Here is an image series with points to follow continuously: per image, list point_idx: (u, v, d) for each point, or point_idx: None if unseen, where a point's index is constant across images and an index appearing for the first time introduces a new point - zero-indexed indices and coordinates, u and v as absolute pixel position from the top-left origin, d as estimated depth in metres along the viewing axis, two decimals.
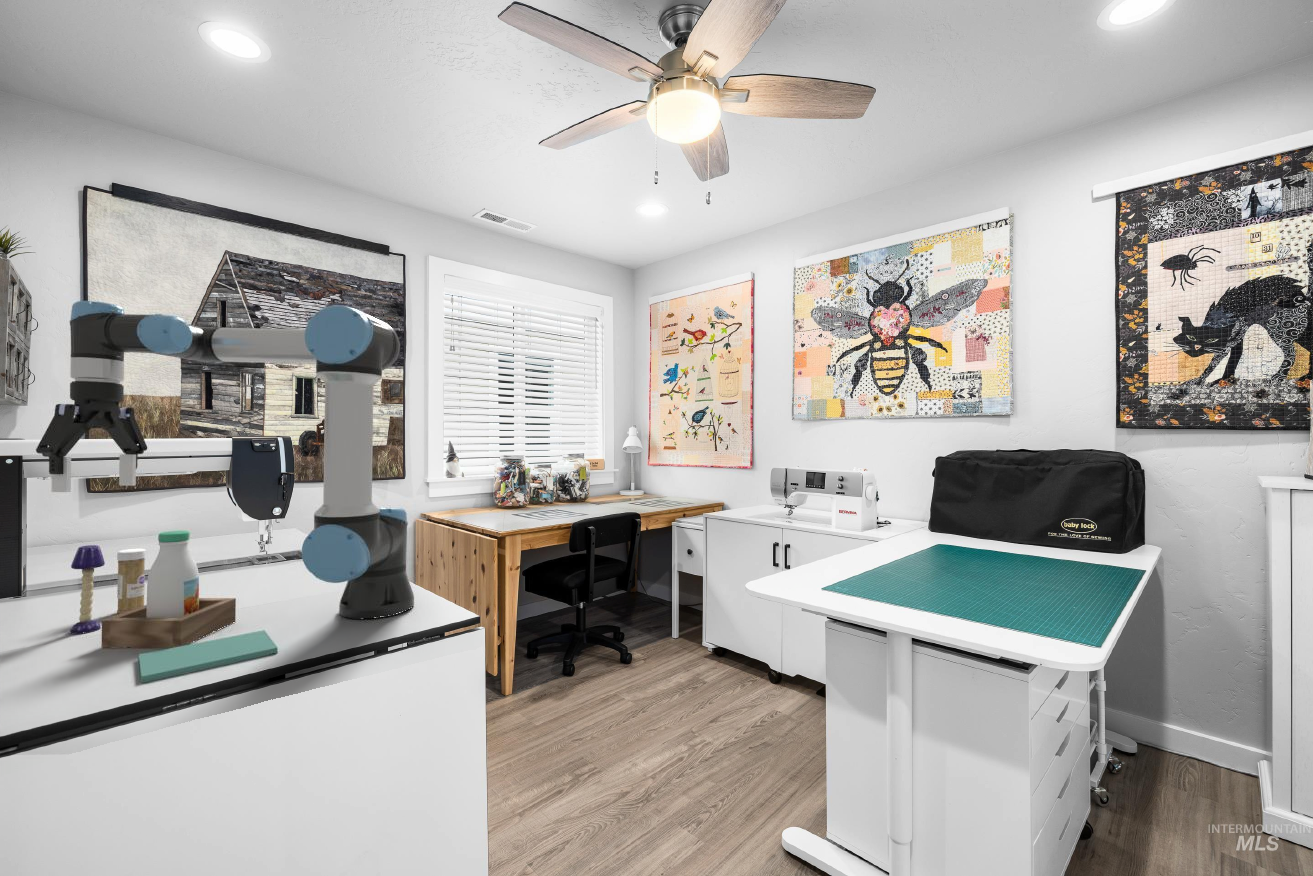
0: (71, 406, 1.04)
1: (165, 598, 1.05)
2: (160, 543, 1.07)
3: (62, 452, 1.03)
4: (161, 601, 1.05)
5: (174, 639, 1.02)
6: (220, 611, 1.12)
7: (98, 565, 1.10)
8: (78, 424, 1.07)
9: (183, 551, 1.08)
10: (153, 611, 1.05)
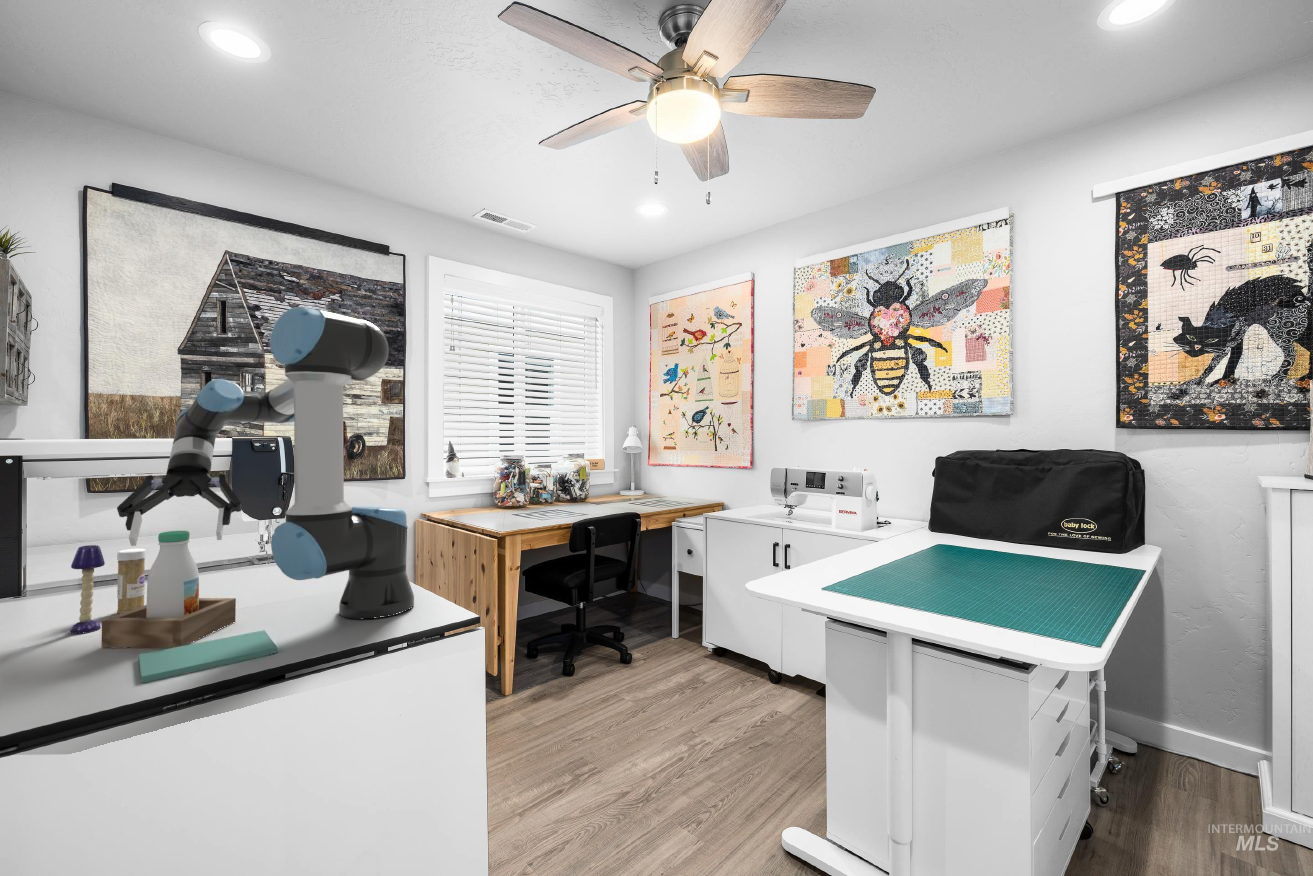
0: (148, 476, 1.20)
1: (165, 598, 1.05)
2: (160, 543, 1.07)
3: (130, 508, 1.14)
4: (161, 601, 1.05)
5: (174, 639, 1.02)
6: (220, 611, 1.12)
7: (98, 565, 1.10)
8: None
9: (183, 551, 1.08)
10: (153, 611, 1.05)
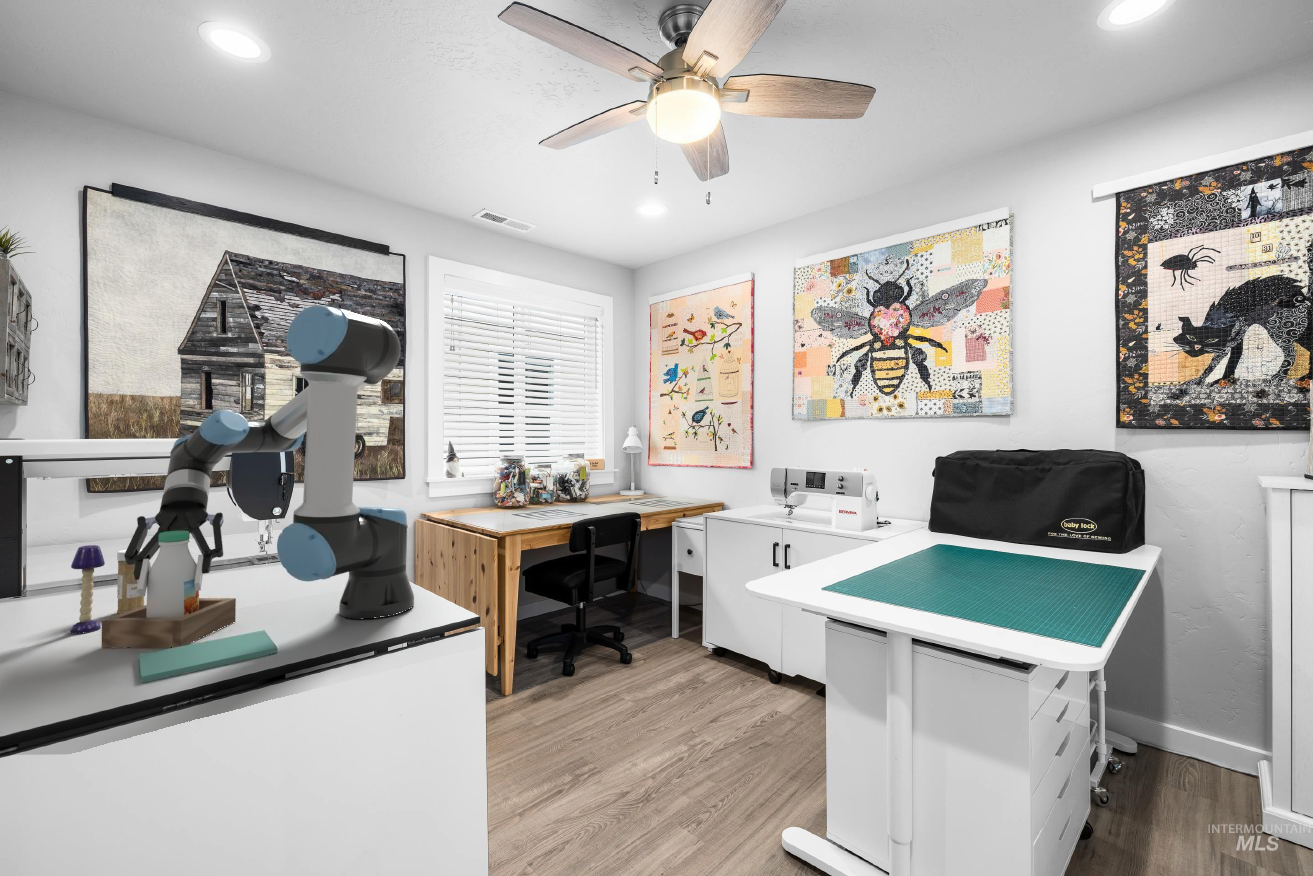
0: (139, 518, 1.11)
1: (165, 597, 1.05)
2: (160, 543, 1.07)
3: (138, 556, 1.07)
4: (161, 601, 1.05)
5: (174, 639, 1.02)
6: (220, 611, 1.12)
7: (98, 565, 1.10)
8: None
9: (183, 551, 1.08)
10: (153, 611, 1.05)
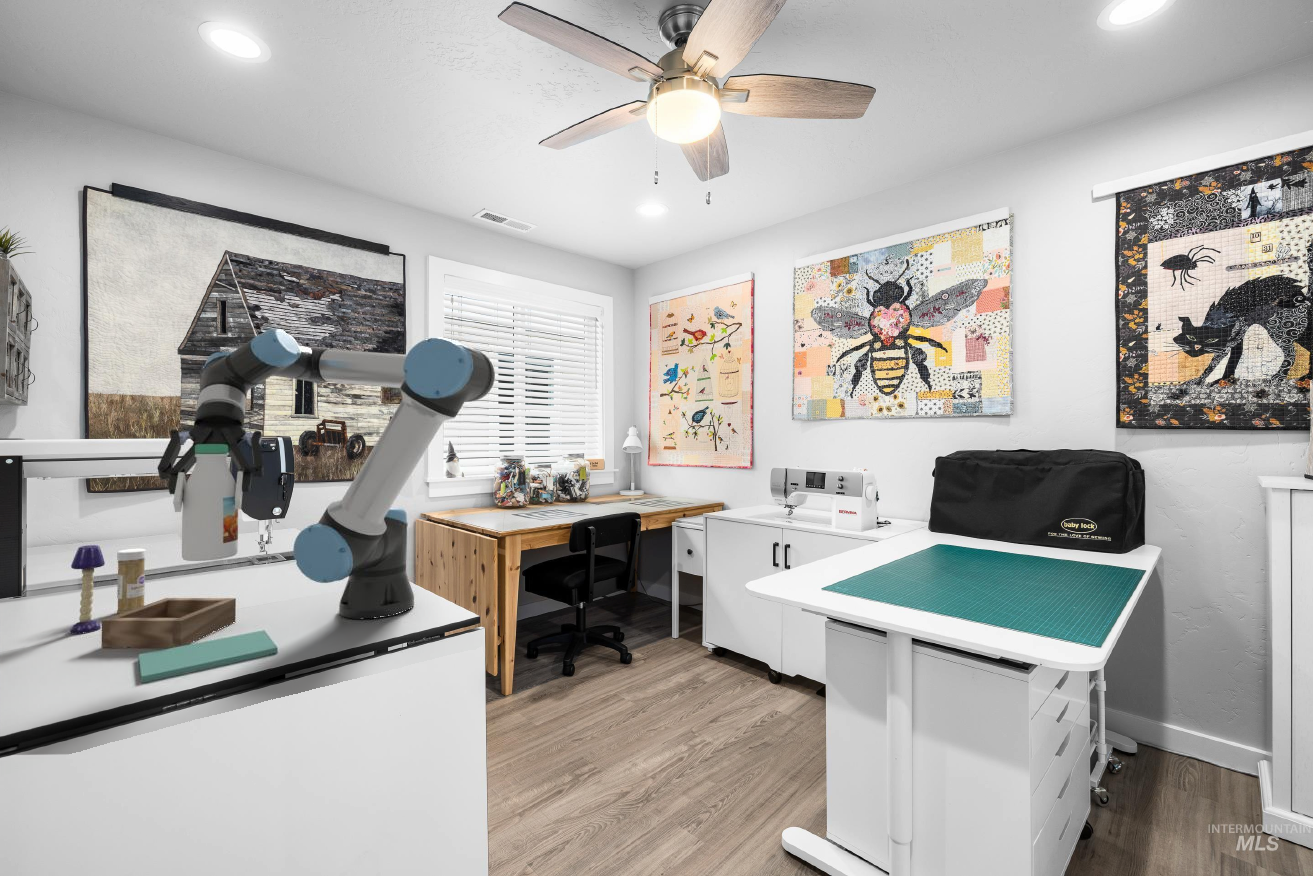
0: (172, 431, 1.01)
1: (203, 514, 0.95)
2: (197, 454, 0.96)
3: (173, 469, 0.96)
4: (199, 517, 0.95)
5: (174, 639, 1.02)
6: (220, 611, 1.12)
7: (98, 565, 1.10)
8: None
9: (222, 465, 0.98)
10: (190, 528, 0.95)
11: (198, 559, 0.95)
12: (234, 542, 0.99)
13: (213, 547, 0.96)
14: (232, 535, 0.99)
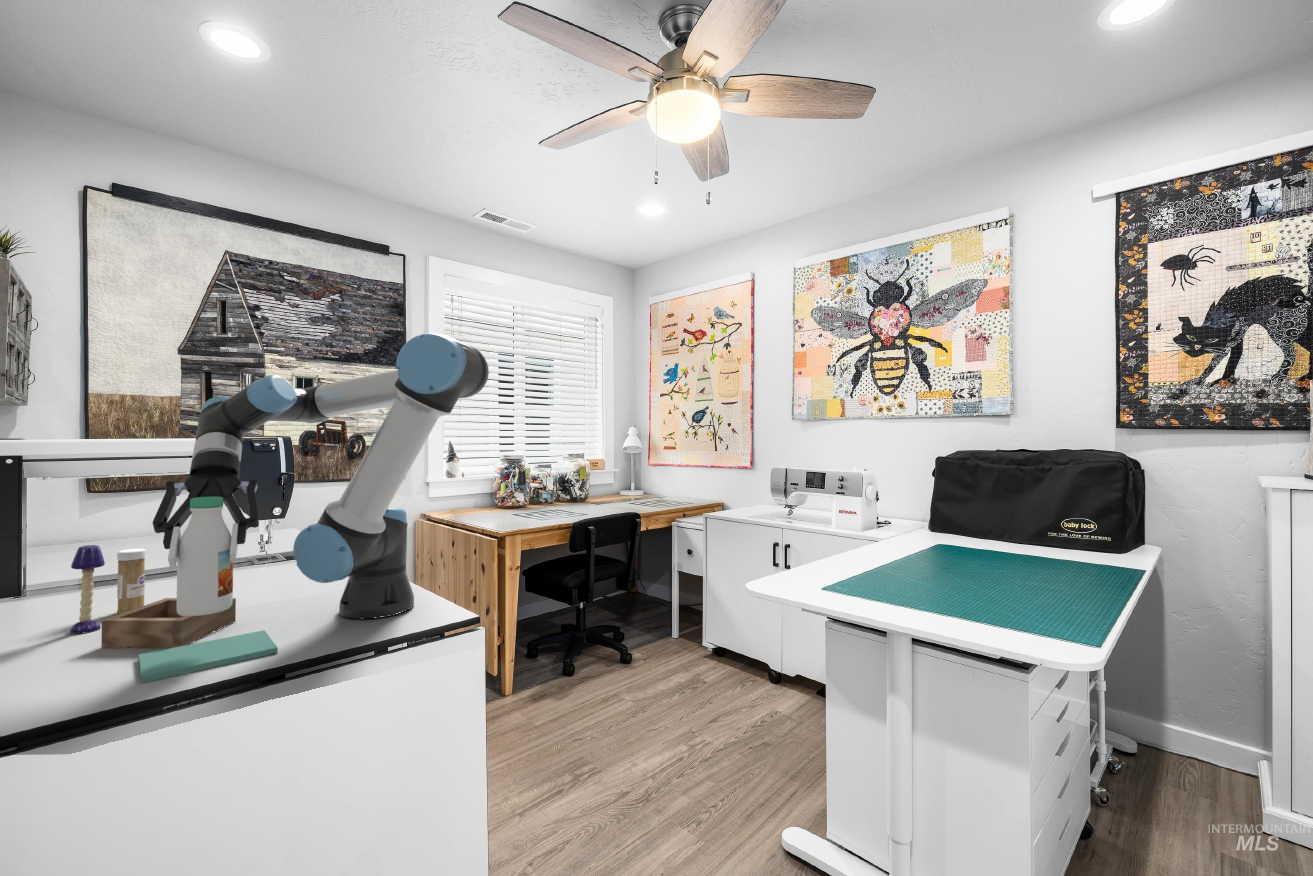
0: (168, 482, 1.01)
1: (198, 569, 0.95)
2: (192, 509, 0.96)
3: (168, 523, 0.96)
4: (194, 573, 0.95)
5: (174, 639, 1.02)
6: None
7: (98, 565, 1.10)
8: None
9: (217, 518, 0.98)
10: (185, 584, 0.95)
11: (193, 614, 0.95)
12: (229, 595, 0.99)
13: (208, 602, 0.96)
14: (227, 588, 0.99)
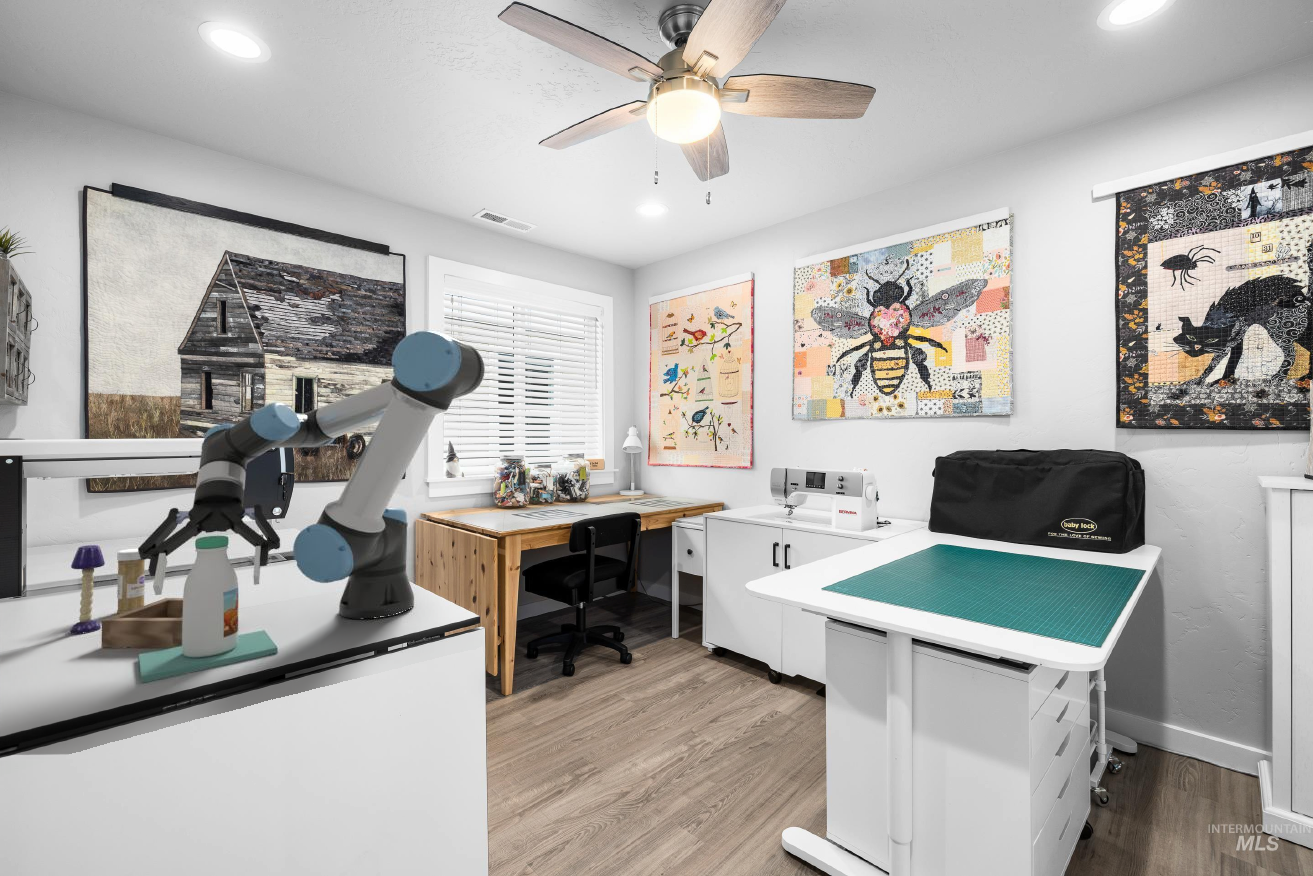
0: (172, 509, 1.02)
1: (203, 610, 0.95)
2: (197, 550, 0.97)
3: (154, 549, 0.96)
4: (200, 614, 0.95)
5: (174, 639, 1.02)
6: None
7: (98, 565, 1.10)
8: None
9: (222, 558, 0.98)
10: (190, 625, 0.95)
11: (198, 655, 0.95)
12: (234, 634, 0.99)
13: (213, 642, 0.96)
14: (232, 628, 0.99)
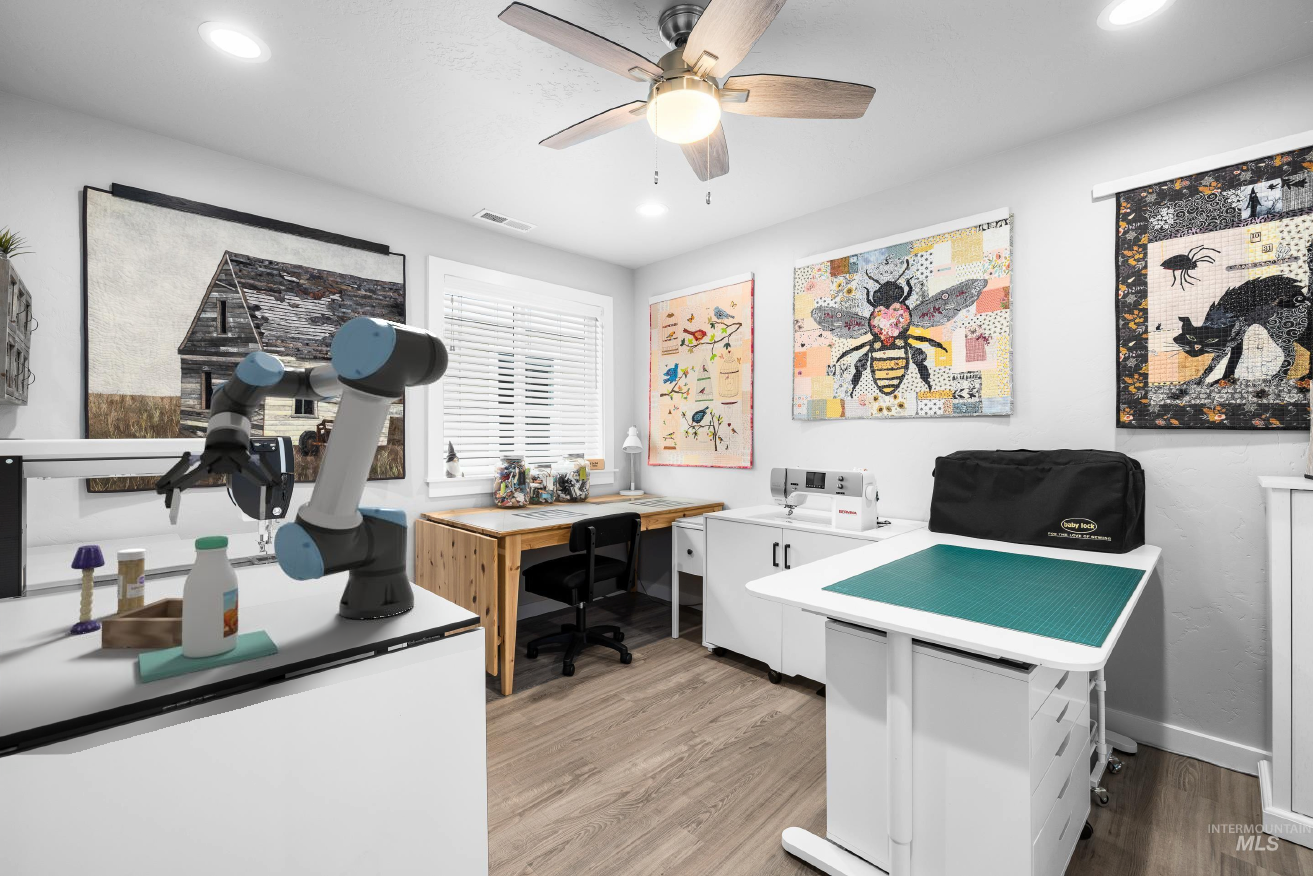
0: (186, 452, 1.12)
1: (203, 610, 0.95)
2: (197, 550, 0.96)
3: (169, 485, 1.07)
4: (199, 614, 0.95)
5: (174, 639, 1.02)
6: None
7: (98, 565, 1.10)
8: None
9: (222, 558, 0.98)
10: (190, 625, 0.95)
11: (198, 656, 0.95)
12: (234, 635, 0.99)
13: (213, 643, 0.96)
14: (232, 628, 0.99)
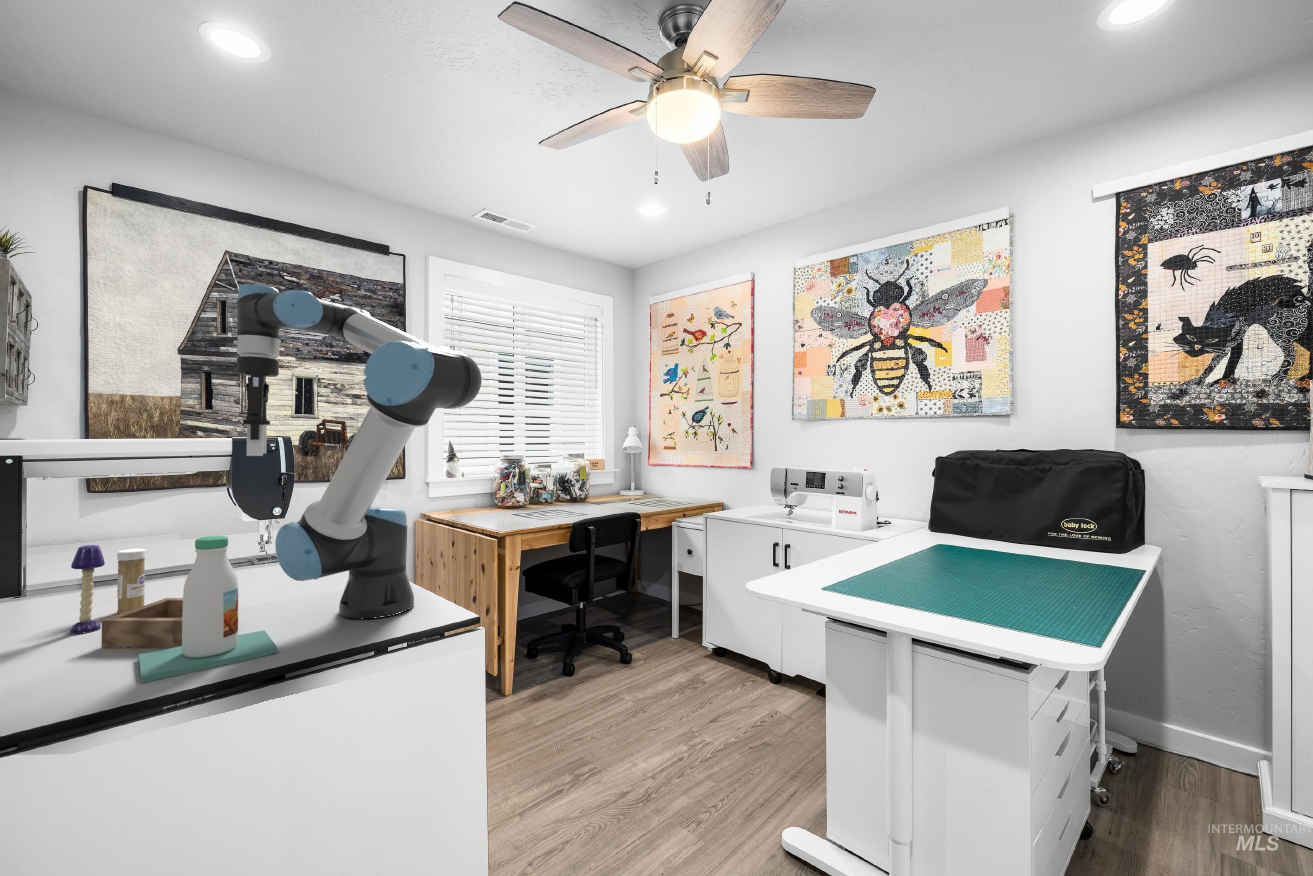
0: (263, 379, 1.17)
1: (203, 610, 0.95)
2: (197, 550, 0.96)
3: (262, 420, 1.16)
4: (200, 614, 0.95)
5: (174, 639, 1.02)
6: None
7: (98, 565, 1.10)
8: None
9: (222, 558, 0.98)
10: (190, 625, 0.95)
11: (198, 656, 0.95)
12: (234, 635, 0.99)
13: (213, 643, 0.96)
14: (232, 628, 0.99)
